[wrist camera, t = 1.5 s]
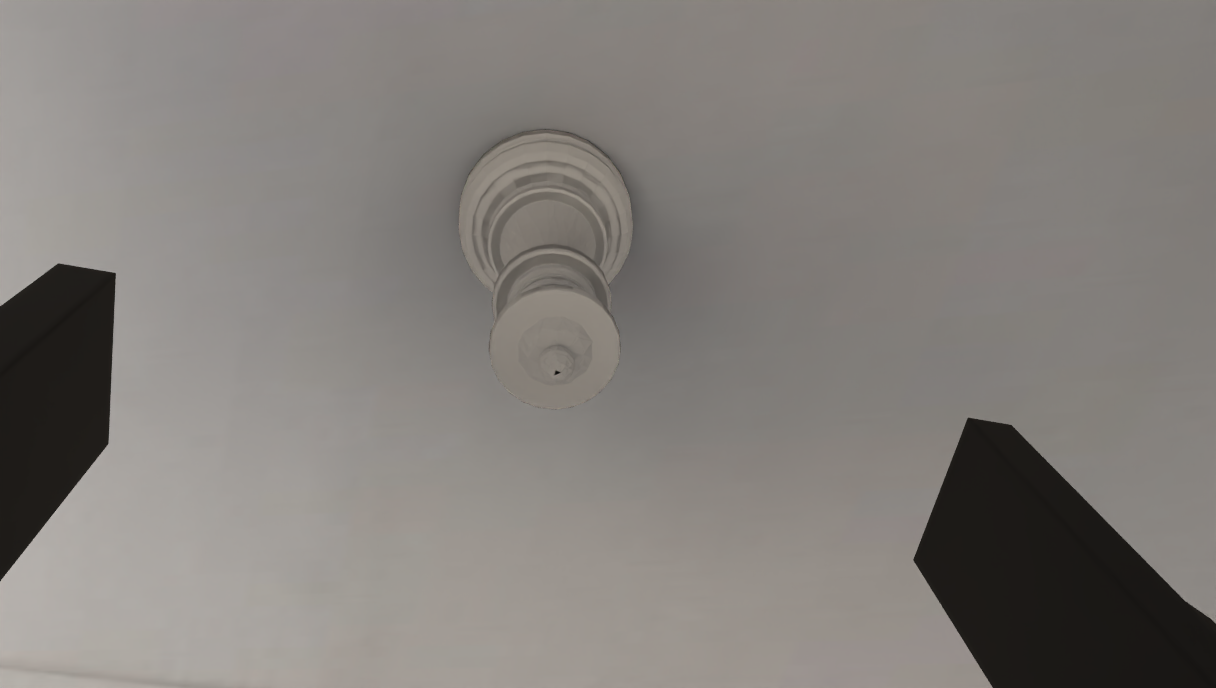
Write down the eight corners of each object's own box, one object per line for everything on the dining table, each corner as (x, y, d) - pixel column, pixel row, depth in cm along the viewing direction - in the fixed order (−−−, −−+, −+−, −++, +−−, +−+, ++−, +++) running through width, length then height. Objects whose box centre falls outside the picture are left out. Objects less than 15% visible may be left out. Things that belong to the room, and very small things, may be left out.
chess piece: (661, 182, 26) (735, 326, 17) (575, 320, 28) (600, 522, 18) (512, 95, 25) (506, 198, 16) (430, 242, 26) (380, 417, 17)
